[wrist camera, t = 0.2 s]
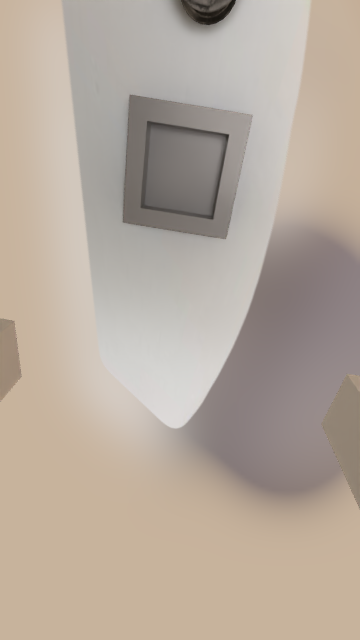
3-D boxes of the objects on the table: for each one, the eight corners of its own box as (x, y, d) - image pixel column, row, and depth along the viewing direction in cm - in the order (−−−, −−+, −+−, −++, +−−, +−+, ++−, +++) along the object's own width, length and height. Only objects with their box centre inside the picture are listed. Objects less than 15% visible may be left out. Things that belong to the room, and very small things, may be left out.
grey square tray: (136, 100, 31) (129, 94, 28) (248, 119, 31) (252, 115, 28) (128, 218, 36) (122, 222, 33) (224, 233, 36) (226, 239, 34)
